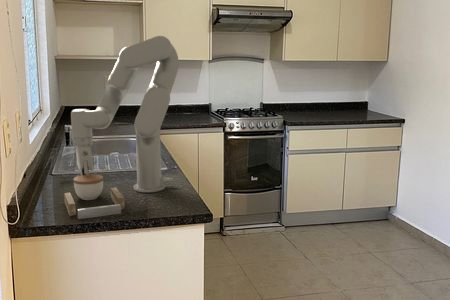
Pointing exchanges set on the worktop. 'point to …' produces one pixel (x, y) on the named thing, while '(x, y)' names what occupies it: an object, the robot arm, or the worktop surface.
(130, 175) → the worktop surface
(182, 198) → the worktop surface
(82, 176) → the lidded jar
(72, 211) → the rail far
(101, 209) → the rail
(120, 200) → the bar
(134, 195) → the worktop surface
